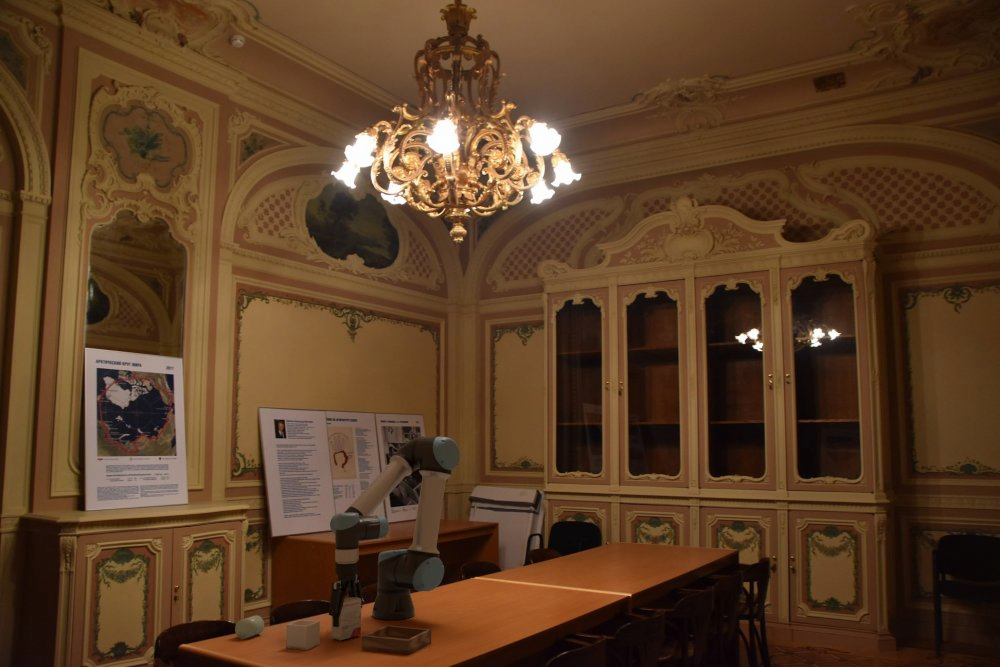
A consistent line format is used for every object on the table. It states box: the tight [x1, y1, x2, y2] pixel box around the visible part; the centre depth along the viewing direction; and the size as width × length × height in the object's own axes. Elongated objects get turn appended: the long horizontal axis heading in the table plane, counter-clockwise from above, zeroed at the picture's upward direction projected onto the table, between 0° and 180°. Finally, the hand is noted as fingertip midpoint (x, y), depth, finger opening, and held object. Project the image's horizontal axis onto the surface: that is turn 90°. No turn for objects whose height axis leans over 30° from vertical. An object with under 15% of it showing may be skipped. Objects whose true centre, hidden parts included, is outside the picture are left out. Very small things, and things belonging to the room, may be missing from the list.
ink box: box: [330, 596, 362, 641], centre depth 266 cm, size 9×5×12 cm, turn 137°
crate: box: [361, 625, 432, 656], centre depth 256 cm, size 15×16×4 cm
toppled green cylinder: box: [234, 614, 265, 640], centre depth 268 cm, size 7×6×6 cm
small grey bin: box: [285, 619, 321, 651], centre depth 256 cm, size 7×7×7 cm
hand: (346, 633), depth 265 cm, fingers closed on ink box, 9 cm apart
